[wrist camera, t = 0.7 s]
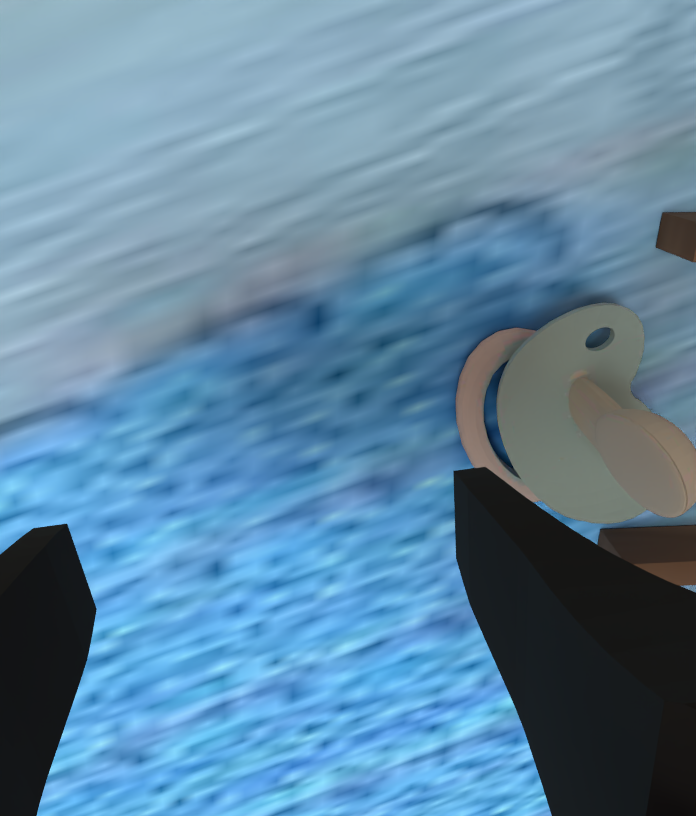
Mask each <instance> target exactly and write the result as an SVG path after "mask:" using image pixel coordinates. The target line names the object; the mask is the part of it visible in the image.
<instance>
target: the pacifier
mask: <svg viewBox="0 0 696 816" xmlns="http://www.w3.org/2000/svg"><path fill="white" fill-rule="evenodd" d="M604 327H608V328H610V331H611V332H610V336H609V338H608V339H607V340H606V342H604V343H603V344H602V345H600V346H598V347H595V348H587V347H586V345H585V342H586V339H587V337H588V336H589V335H590V334H591V333H592V332H594V331H595V330H597V329H599V328H604ZM644 338H645V337H644V331H643V325H642V323H641V321H640V319H639V318H638V316H637V315H636V314H635V313H634V312H632V311H631V310H630V309H628V308H625V307H623V306H620V305H618V304H615V303H597V304H591V305H587V306H584V307H580V308H577V309H574V310H572V311H570V312H567V313H565V314H563V315H561V316H559V317H558V318H556V319H554V320H552V321H550V322H549V323H547V324H546V325H544V326H543V327H542V328H540V329H539V330H537V331H535V330H529V329H522V328H512V329H507V330H502V331H498V332H496V333H494V334H493V335H491V336H490V337H488V338H486V339H485V340H483V341H481V343H480V344H479V345H478V346H477V347H476V349H475V350H474V351H473V352H472V353H471V354H470V356H469V357H468V359H467V361H466V363H465V366H464V368H463V370H462V372H461V375H460V377H459V383H458V388H457V394H456V421H457V426H458V430H459V434H460V438H461V442H462V445H463V447H464V449H465V451H466V453H467V455H468V457H469V459H470V461H471V464H472V465H473V466H474V467H475V468H480V467H486V468H488V469H489V470H491V471H492V472H493V473H495V474H496V475H497V476H499V477H500V478H501V479H502V480H504V481H505V482H506V483H508V484H509V485H510V486H512V487H513V488H514V489H515V490H517V491H518V492H519V493H521V494H522V495H523V496H525V497H526V498H527V499H529V500H530V501H532V502H538V501H542V502H543V503H545V504H546V505H547V506H548V507H550V508H551V509H552V510H554V511H556V512H558V513H560V514H562V515H564V516H565V517H569V518H572V519H575V520H579V521H586V522H590V523H604V524H610V523H618V522H623V521H625V520H628V519H632V518H634V517H636V516H638V515H639V514H641V513H643V512H645V511H646V510H649V511H650V512H652V513H654V514H657V515H659V516H662V517H667V518H674V517H678V516H680V515H682V514H684V513H685V512H686V511H687V510H688V509H689V508H691V507H692V505H693V504H694V503H695V502H696V449H695V448H694V446H693V444H692V443H691V441H690V440H689V439H688V437H687V436H686V435H685V434H684V433H683V432H682V431H681V430H680V429H679V428H678V427H676V426H675V425H674V424H673V423H671V422H670V421H668V420H667V419H665V418H663V417H661V416H659V415H657V414H654V413H652V412H651V411H650V410H649V409H648V408H647V407H646V406H645V405H644V403H642V402H641V401H640V400H638V399H637V398H635V397H634V396H633V395H632V393H631V389H630V385H631V382H632V380H633V379H634V377H635V375H636V373H637V370H638V367H639V365H640V362H641V359H642V354H643V350H644ZM508 360H509V361H508ZM507 361H508V363H507V365H506V367H505V369H504V371H503V374H502V376H501V379H500V382H499V387H498V393H497V422H498V426H499V431H500V434H501V438H502V442H503V445H504V447H505V450H506V452H507V455H508V457H509V459H510V461H511V463H512V465H513V467H514V469H513V468H511V467H509V466H508V465H507V464H506V463H505V462H503V461H502V460H501V459H500V458H499V457H498V455H497V454H496V453H495V451H494V450H493V449H492V447H491V444H490V442H489V440H488V437H487V433H486V429H485V424H484V400H485V395H486V389H487V387H488V385H489V383H490V380H491V378H492V376H493V374H494V373H495V372H496V371H497V370H498V368H499V367H500V366H501V365H502V364H503V363H505V362H507Z"/></svg>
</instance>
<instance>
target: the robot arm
mask: <svg viewBox="0 0 696 816" xmlns="http://www.w3.org/2000/svg"><path fill="white" fill-rule="evenodd" d="M454 502H455V534H456V559H457V562H458V566H459V569H460V573H461V576H462V580H463V583H464V586H465V590H466V593H467V596H468V599H469V603H470V605H471V608H472V610H473V612H474V615H475V617H476V619H477V622H478V624H479V626H480V629H481V631H482V633H483V635H484V638H485V640H486V642H487V645H488V647H489V649H490V651H491V654H492V656H493V658H494V660H495V662H496V665H497V667H498V669H499V671H500V674H501V676H502V678H503V680H504V683H505V685H506V687H507V689H508V692H509V694H510V696H511V699H512V701H513V703H514V705H515V708H516V710H517V713H518V715H519V718H520V720H521V723H522V725H523V728H524V731H525V734H526V737H527V740H528V743H529V746H530V749H531V752H532V755H533V758H534V761H535V764H536V767H537V770H538V773H539V776H540V779H541V782H542V785H543V789H544V792H545V795H546V798H547V801H548V805H549V808H550V811H551V814H552V816H696V593H695V592H693V591H690V590H688V589H685V588H683V587H681V586H678V585H676V584H673V583H671V582H669V581H667V580H664V579H662V578H660V577H658V576H656V575H653V574H651V573H649V572H647V571H645V570H643V569H641V568H639V567H637V566H635V565H633V564H631V563H630V562H628V561H626V560H624V559H622V558H620V557H618V556H616V555H614V554H612V553H610V552H609V551H607V550H605V549H603V548H602V547H600V546H598V545H597V544H595V543H593V542H592V541H590V540H588V539H587V538H585V537H583V536H582V535H580V534H579V533H577V532H575V531H574V530H572V529H571V528H569V527H568V526H566V525H565V524H563V523H561V522H560V521H558V520H557V519H556V518H554V517H553V516H551V515H550V514H548V513H547V512H545V511H544V510H543V509H541V508H540V507H538V506H537V505H536V504H534V503H533V502H532V501H530V500H529V499H527V498H526V497H525V496H523V495H522V494H521V493H519V492H518V491H517V490H515V489H514V488H513V487H512V486H510V485H509V484H508V483H506V482H505V481H504V480H502V479H501V478H500V477H499V476H497V475H496V474H495V473H493V472H492V471H491V470H489V469H488V468H486V467H480V468H473V469H465V470H458V471H454ZM95 615H96V606H95V603H94V600H93V598H92V595H91V592H90V589H89V586H88V583H87V580H86V577H85V574H84V572H83V569H82V566H81V563H80V560H79V557H78V554H77V551H76V548H75V545H74V543H73V540H72V537H71V534H70V531H69V528H68V525H67V524H62V525H54V526H47V527H40V528H33V529H32V530H31V531H29V532H28V533H26V534H25V535H24V536H22V537H21V538H20V539H19V540H17V541H16V542H15V543H14V544H12V545H11V546H10V547H9V548H8V549H6V550H5V551H4V552H3V553H2V554H1V555H0V816H36V815H37V811H38V807H39V803H40V800H41V796H42V793H43V790H44V786H45V783H46V780H47V776H48V774H49V771H50V768H51V765H52V762H53V759H54V756H55V753H56V750H57V747H58V744H59V742H60V739H61V736H62V733H63V730H64V727H65V724H66V721H67V718H68V715H69V713H70V710H71V707H72V704H73V701H74V698H75V695H76V692H77V689H78V686H79V683H80V680H81V677H82V674H83V671H84V668H85V665H86V661H87V657H88V653H89V648H90V643H91V638H92V632H93V627H94V621H95Z"/></svg>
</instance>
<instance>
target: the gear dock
mask: <svg viewBox="0 0 696 816" xmlns="http://www.w3.org/2000/svg"><path fill="white" fill-rule="evenodd" d="M656 248H659V249H661V250H664V251H666V252H669V253H671V254H674V255H676V256H679V257H681V258H684V259H686V260H689V261H691V262H696V212H663V213H662V218H661V224H660V229H659V234H658V239H657V244H656ZM598 546H600V547H602V548H603V549H605V550H607V551H609V552H610V553H612V554H614V555H616V556H618V557H620V558H622V559H624V560H626V561H628V562H630V563H631V564H633V565H635V566H637V567H639V568H641V569H643V570H645V571H647V572H649V573H651V574H653V575H656V576H658V577H660V578H662V579H664V580H667V581H669V582H671V583H673V584H676V585H678V586H682V585H696V525H690V526H666V527H643V528H619V529H601V530H600V535H599V540H598Z"/></svg>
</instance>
